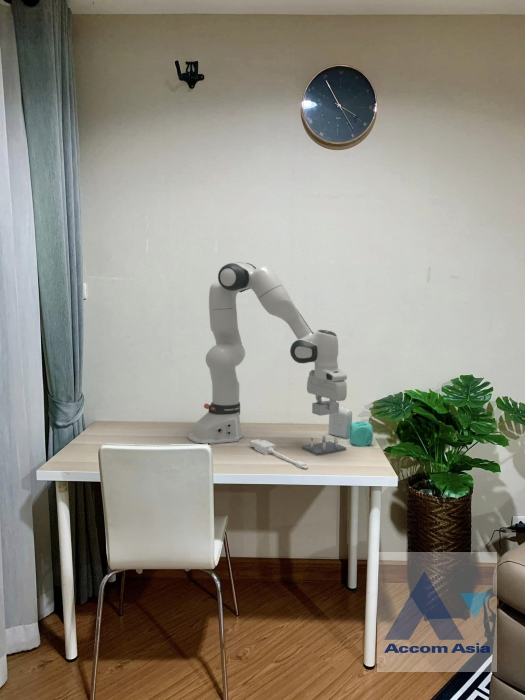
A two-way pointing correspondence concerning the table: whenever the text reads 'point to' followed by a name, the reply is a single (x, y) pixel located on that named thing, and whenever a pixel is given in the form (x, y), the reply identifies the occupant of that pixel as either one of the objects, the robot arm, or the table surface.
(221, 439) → the robot arm
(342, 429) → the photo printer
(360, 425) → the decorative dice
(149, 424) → the table surface
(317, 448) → the peg board
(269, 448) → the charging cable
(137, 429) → the table surface
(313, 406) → the block
